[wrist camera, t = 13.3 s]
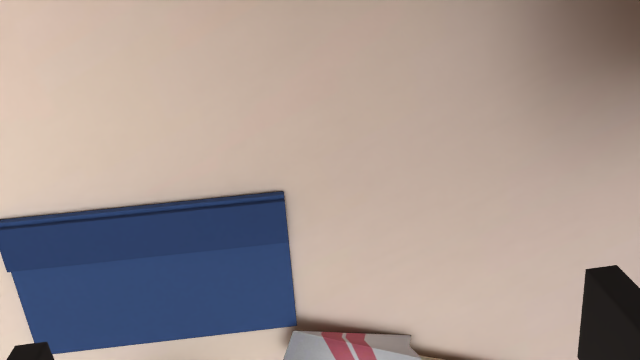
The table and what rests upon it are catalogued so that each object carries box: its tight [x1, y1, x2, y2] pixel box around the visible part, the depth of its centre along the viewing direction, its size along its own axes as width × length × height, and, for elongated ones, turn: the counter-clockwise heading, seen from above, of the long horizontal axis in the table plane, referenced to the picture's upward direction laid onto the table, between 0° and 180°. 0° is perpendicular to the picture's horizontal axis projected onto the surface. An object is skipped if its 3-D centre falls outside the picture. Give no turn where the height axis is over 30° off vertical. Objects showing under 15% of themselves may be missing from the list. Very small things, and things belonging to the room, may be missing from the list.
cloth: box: [0, 191, 297, 354], centre depth 41 cm, size 19×11×1 cm, turn 94°
